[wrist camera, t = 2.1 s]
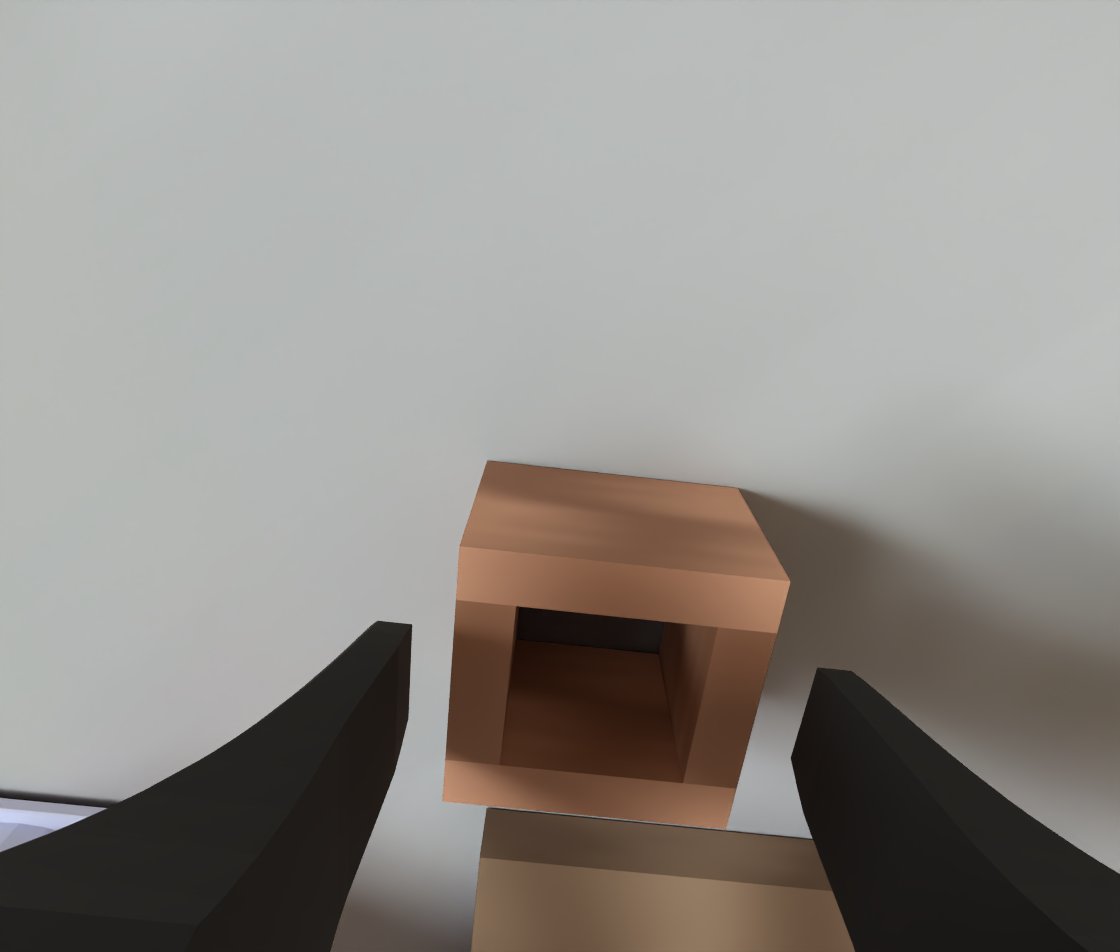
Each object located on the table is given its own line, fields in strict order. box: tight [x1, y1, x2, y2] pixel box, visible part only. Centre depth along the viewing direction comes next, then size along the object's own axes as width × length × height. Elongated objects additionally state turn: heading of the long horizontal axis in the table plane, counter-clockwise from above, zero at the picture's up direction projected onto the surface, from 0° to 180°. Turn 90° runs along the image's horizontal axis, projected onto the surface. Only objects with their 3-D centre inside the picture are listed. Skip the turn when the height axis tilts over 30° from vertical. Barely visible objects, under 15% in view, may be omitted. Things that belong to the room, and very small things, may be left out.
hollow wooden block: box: [443, 461, 791, 829], centre depth 14 cm, size 5×5×4 cm
